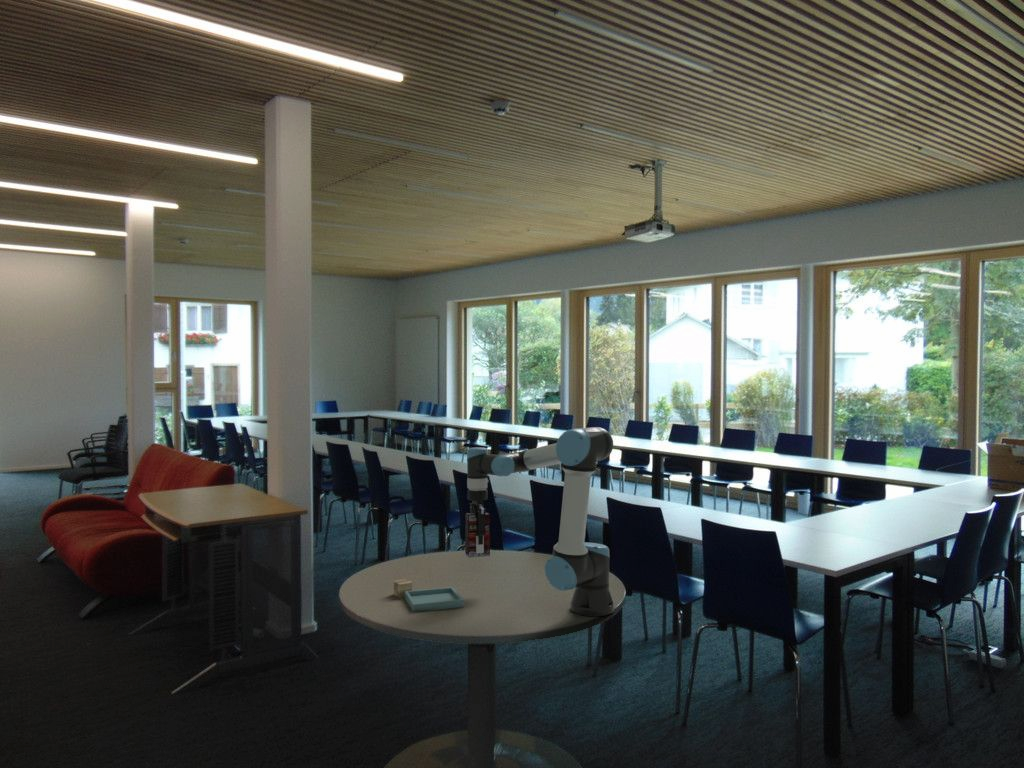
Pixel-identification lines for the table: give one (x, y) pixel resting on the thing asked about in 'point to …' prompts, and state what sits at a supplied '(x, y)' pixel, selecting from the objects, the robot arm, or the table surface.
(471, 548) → the supplement box
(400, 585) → the oak cube
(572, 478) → the robot arm
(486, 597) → the table surface
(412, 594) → the tray
